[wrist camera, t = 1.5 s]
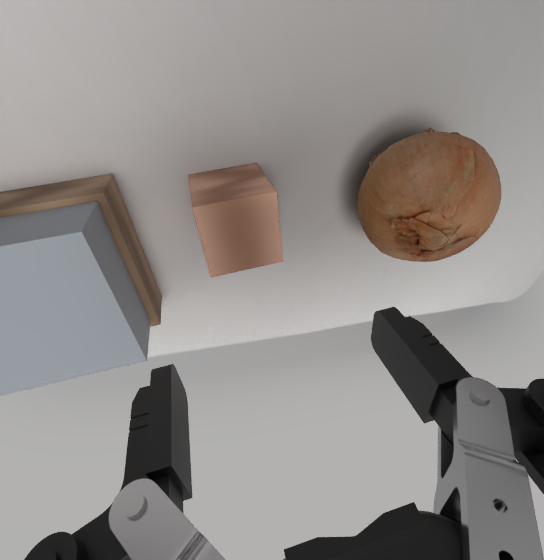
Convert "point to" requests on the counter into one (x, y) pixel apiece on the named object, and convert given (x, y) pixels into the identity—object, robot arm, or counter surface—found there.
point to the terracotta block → (236, 218)
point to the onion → (429, 196)
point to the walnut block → (114, 214)
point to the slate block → (65, 299)
